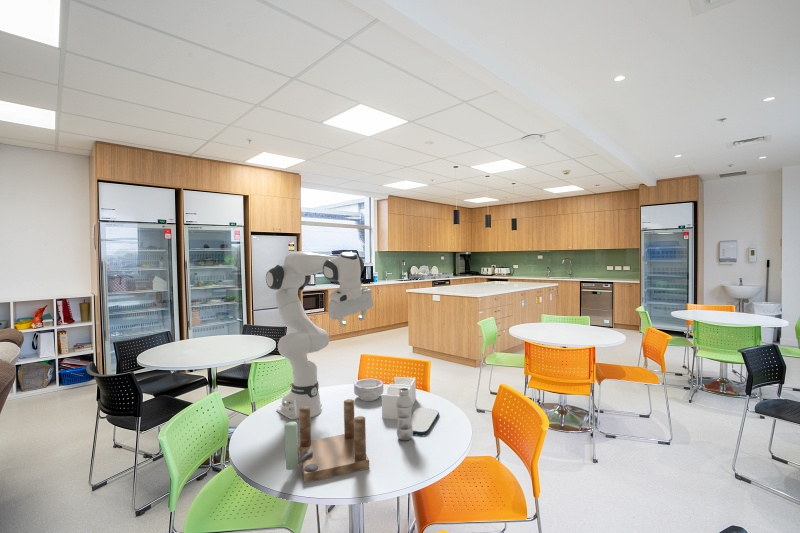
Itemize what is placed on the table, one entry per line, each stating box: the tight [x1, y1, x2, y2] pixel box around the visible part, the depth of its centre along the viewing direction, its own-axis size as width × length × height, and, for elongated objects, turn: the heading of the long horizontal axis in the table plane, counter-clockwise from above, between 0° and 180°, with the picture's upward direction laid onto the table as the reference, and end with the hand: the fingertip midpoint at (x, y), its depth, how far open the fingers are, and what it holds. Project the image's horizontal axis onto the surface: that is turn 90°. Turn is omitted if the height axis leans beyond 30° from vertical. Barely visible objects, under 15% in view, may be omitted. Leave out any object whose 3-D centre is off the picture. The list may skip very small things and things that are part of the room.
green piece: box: [284, 421, 313, 471], centre depth 130 cm, size 12×4×14 cm, turn 155°
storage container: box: [381, 376, 417, 420], centre depth 182 cm, size 25×11×11 cm, turn 167°
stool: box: [298, 398, 370, 483], centre depth 137 cm, size 22×22×17 cm
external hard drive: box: [411, 407, 440, 436], centre depth 166 cm, size 24×12×2 cm, turn 160°
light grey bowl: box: [353, 378, 384, 402], centre depth 196 cm, size 15×15×8 cm
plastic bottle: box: [396, 388, 414, 441], centre depth 152 cm, size 6×7×20 cm
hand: (352, 323), depth 158 cm, fingers open, 8 cm apart
